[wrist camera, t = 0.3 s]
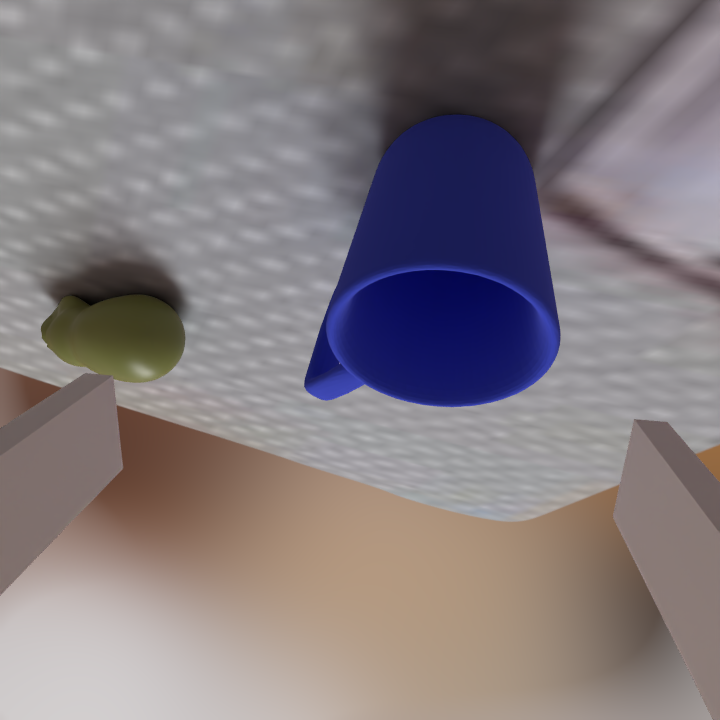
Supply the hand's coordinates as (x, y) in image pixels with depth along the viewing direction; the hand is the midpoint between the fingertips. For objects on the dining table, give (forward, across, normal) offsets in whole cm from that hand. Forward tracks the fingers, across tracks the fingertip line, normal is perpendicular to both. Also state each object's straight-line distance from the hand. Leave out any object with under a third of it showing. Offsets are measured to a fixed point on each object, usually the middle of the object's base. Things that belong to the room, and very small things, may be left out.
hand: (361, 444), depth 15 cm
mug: (+16, +1, +5) cm, 17 cm away
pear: (+23, -18, -4) cm, 29 cm away
